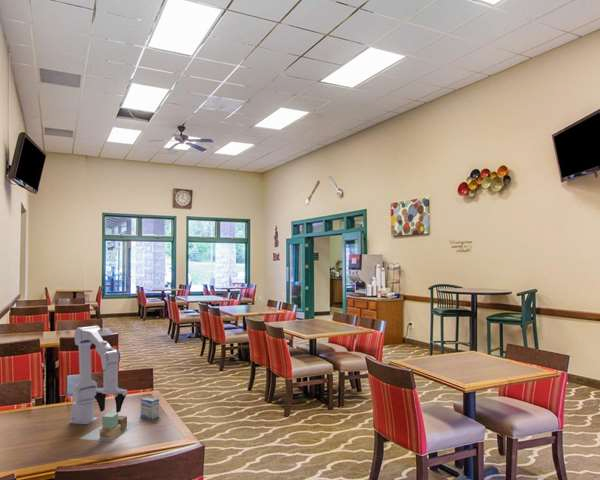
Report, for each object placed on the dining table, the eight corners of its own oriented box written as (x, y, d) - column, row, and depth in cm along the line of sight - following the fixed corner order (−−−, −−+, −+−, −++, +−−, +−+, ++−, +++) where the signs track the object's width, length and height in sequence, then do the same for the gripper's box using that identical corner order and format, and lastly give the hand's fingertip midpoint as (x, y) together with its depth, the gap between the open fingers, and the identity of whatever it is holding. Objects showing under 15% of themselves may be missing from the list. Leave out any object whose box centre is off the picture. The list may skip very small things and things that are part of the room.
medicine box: (140, 417, 220) (140, 399, 220) (147, 414, 223) (147, 396, 224) (152, 420, 216) (152, 401, 216) (159, 417, 220) (159, 398, 220)
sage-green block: (102, 428, 195) (102, 416, 196) (108, 424, 200) (108, 412, 200) (111, 429, 195) (111, 417, 195) (118, 425, 199) (118, 413, 199)
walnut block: (111, 430, 202) (111, 419, 202) (117, 426, 206) (117, 415, 206) (121, 431, 201) (121, 419, 201) (126, 427, 206) (126, 416, 206)
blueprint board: (79, 439, 193) (79, 438, 193) (110, 421, 215) (110, 420, 215) (111, 442, 190) (111, 441, 190) (139, 423, 212) (139, 422, 212)
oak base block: (99, 437, 195) (99, 428, 195) (108, 431, 201) (108, 423, 201) (112, 438, 194) (112, 429, 194) (120, 432, 199) (120, 424, 200)
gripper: (89, 380, 195) (89, 413, 195) (120, 382, 193) (120, 415, 192) (99, 376, 202) (99, 408, 202) (129, 378, 199) (129, 409, 199)
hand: (110, 411), depth 197 cm, fingers open, 7 cm apart
